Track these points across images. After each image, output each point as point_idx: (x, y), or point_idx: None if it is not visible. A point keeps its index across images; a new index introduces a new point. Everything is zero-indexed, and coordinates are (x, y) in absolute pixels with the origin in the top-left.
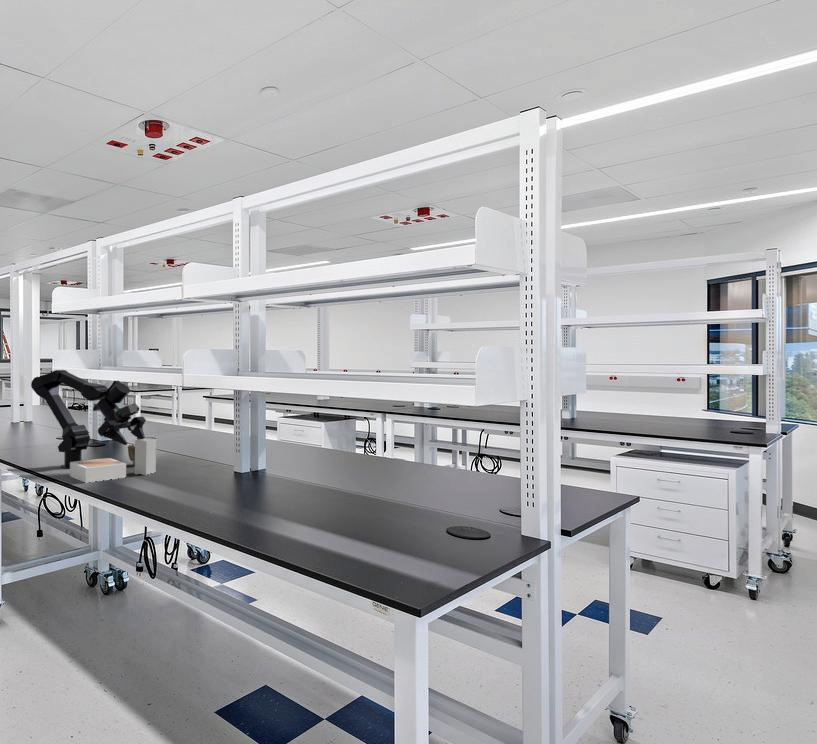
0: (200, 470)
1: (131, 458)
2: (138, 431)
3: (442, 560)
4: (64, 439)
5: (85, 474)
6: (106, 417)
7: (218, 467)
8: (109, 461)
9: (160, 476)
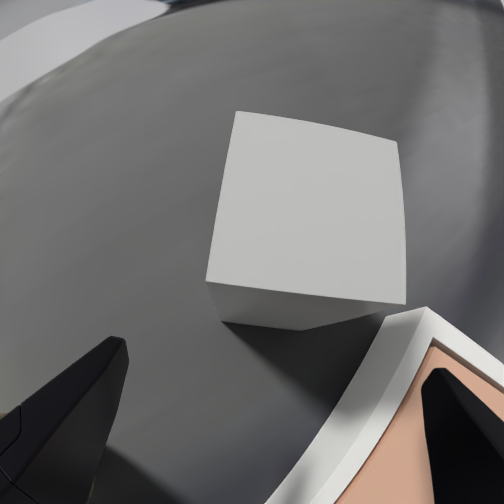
0: (141, 93)
1: (94, 483)
2: (48, 485)
3: None
4: None
5: None
6: None
7: (81, 75)
8: (395, 455)
9: None
